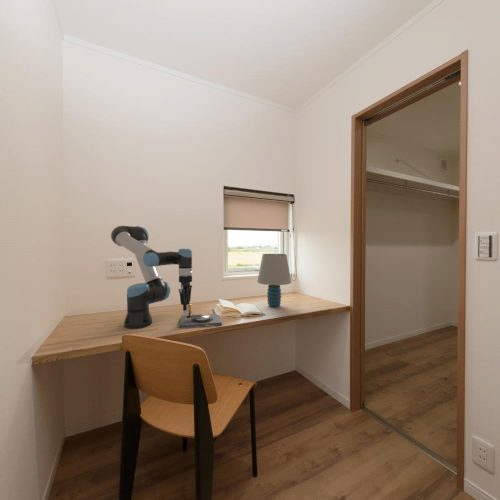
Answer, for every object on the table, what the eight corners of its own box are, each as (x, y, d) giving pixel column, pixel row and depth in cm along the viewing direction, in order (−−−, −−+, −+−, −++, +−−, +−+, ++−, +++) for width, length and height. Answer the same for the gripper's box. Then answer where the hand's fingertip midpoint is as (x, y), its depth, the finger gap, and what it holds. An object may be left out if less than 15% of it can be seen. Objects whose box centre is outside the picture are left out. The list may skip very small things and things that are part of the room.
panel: (179, 328, 141) (179, 325, 141) (181, 317, 160) (181, 315, 160) (221, 325, 146) (221, 322, 146) (218, 315, 165) (218, 312, 165)
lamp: (282, 312, 172) (283, 255, 170) (251, 307, 185) (251, 254, 183) (296, 304, 193) (296, 254, 192) (267, 300, 207) (267, 253, 205)
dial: (210, 315, 158) (210, 301, 158) (211, 320, 148) (211, 305, 148) (186, 317, 155) (186, 302, 155) (186, 322, 145) (186, 306, 145)
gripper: (186, 277, 138) (186, 319, 139) (196, 273, 151) (196, 312, 152) (174, 276, 140) (174, 318, 141) (184, 273, 152) (184, 311, 153)
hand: (185, 315), depth 146 cm, fingers closed
